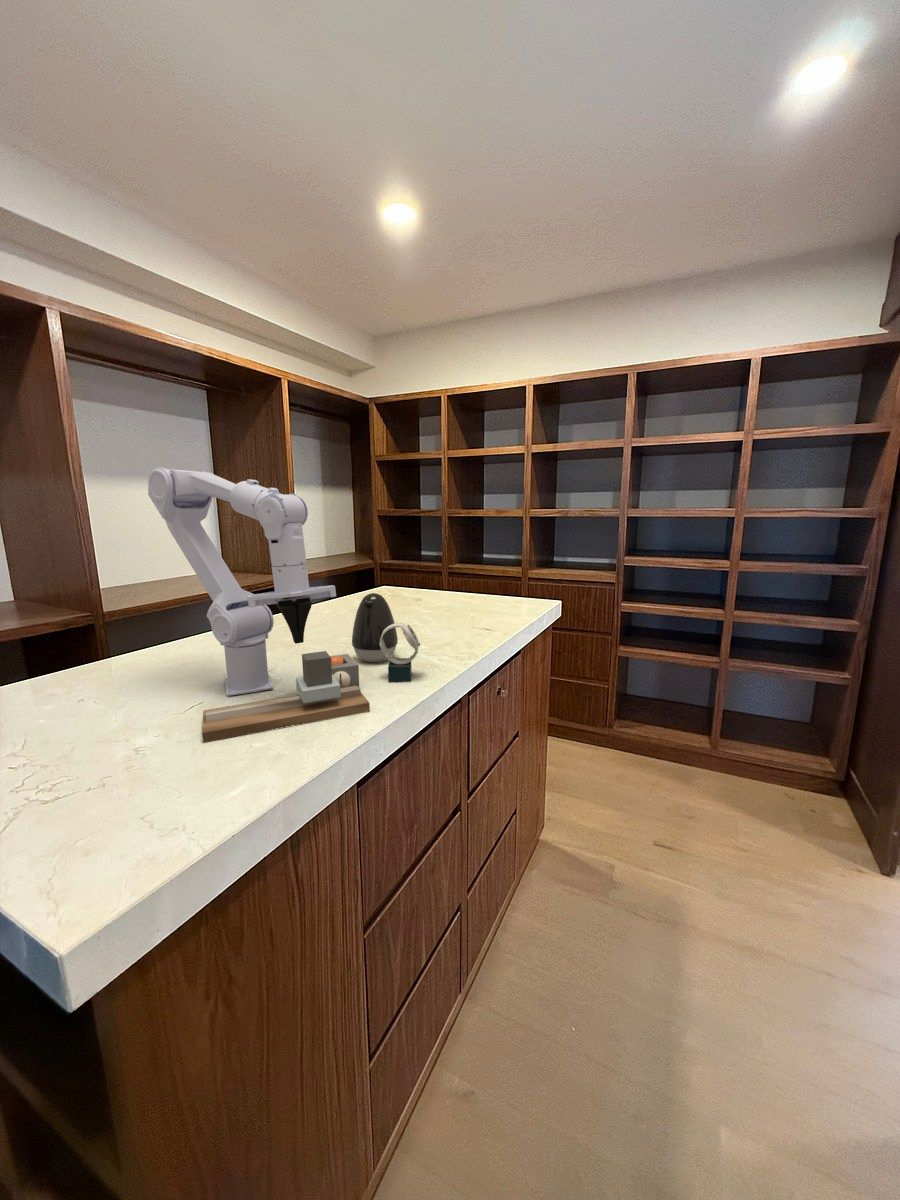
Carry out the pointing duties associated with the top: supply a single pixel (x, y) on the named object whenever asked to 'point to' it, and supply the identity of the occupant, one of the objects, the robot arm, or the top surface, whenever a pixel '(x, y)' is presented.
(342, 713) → the rail track
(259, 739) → the top surface
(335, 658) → the button
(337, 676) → the gauge cabinet
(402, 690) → the top surface
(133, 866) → the top surface
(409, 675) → the watch
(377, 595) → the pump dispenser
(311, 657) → the carriage
